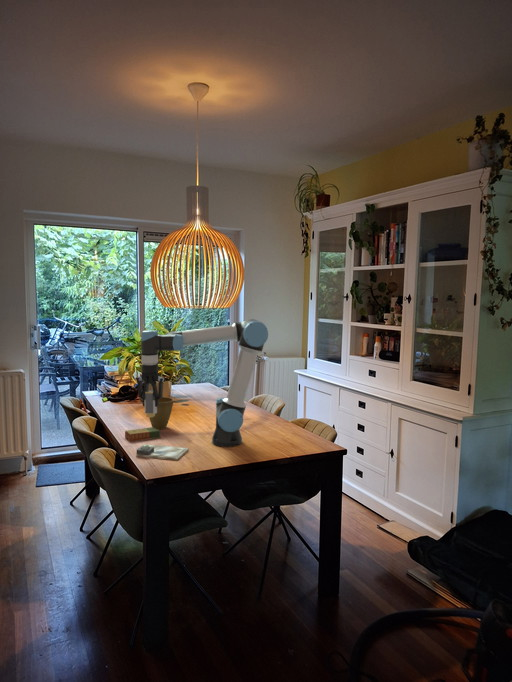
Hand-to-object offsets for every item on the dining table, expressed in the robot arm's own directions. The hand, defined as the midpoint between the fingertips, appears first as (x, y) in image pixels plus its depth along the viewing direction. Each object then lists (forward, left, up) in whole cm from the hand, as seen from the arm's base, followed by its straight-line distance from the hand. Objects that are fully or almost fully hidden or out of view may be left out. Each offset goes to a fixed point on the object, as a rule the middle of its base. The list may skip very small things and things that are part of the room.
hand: (150, 413), depth 234 cm
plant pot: (+13, -40, -19) cm, 47 cm away
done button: (+1, +3, -18) cm, 18 cm away
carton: (+14, -21, -20) cm, 32 cm away
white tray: (-6, -1, -19) cm, 20 cm away
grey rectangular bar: (0, 0, -2) cm, 2 cm away
